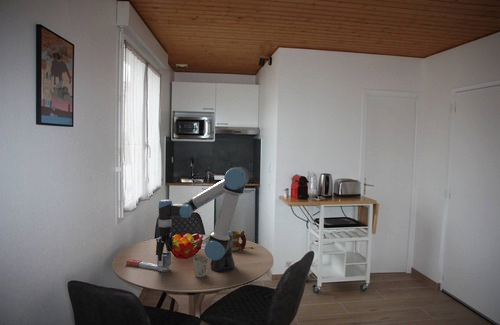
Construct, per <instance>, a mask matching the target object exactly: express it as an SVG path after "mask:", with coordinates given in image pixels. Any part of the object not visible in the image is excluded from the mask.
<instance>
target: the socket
mask: <svg viewBox="0 0 500 325" xmlns="http://www.w3.org/2000/svg"><path fill="white" fill-rule="evenodd" d="M162 255H163V267H164V268H166V267H168V266H169V265H170V266H171V265H172V252H170V253H167V252H166V251H163V254H162ZM156 261H157V263H156V264H157V266H158V264H159V261H158V258H157V260H156ZM158 267H162V266H158Z"/></svg>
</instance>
